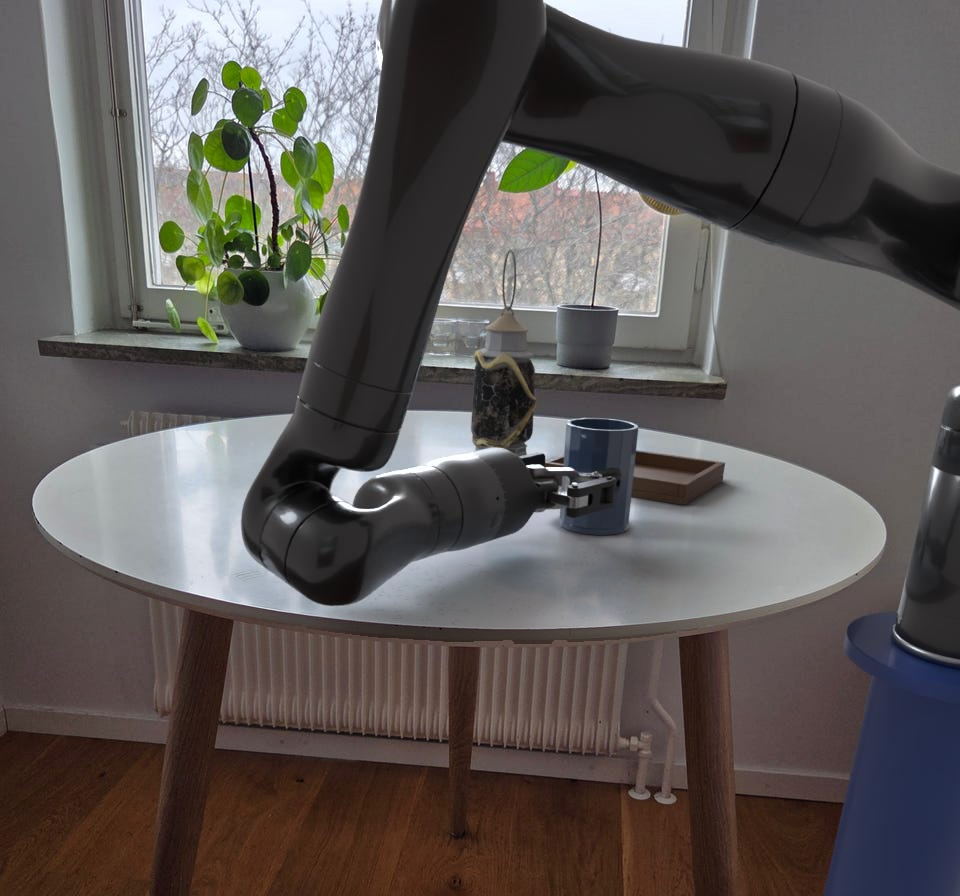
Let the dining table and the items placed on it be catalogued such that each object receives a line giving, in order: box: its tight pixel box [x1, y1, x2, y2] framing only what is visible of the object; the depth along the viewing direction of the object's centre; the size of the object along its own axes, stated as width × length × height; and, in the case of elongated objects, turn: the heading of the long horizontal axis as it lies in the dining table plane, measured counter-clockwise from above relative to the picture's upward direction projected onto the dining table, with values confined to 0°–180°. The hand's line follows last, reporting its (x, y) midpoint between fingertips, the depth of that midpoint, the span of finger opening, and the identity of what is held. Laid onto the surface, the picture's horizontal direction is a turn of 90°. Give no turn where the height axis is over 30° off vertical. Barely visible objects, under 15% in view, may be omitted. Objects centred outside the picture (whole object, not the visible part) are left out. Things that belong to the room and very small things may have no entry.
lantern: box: [470, 249, 537, 457], centre depth 115 cm, size 9×8×25 cm
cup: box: [559, 417, 639, 536], centre depth 91 cm, size 7×7×10 cm
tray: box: [545, 449, 726, 506], centre depth 111 cm, size 18×15×2 cm
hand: (578, 471), depth 88 cm, fingers open, 8 cm apart
